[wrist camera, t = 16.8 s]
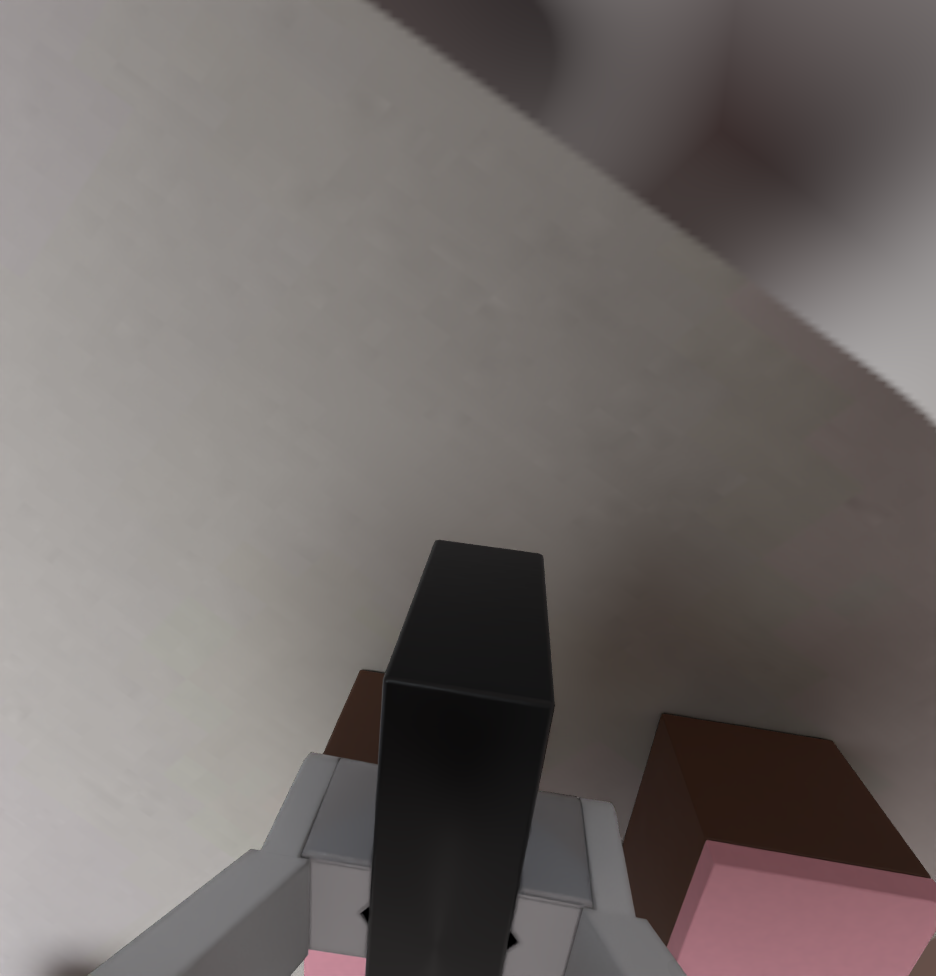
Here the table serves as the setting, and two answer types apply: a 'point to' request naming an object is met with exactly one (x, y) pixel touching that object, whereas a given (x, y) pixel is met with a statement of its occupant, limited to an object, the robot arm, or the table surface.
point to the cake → (771, 858)
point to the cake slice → (361, 743)
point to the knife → (459, 763)
